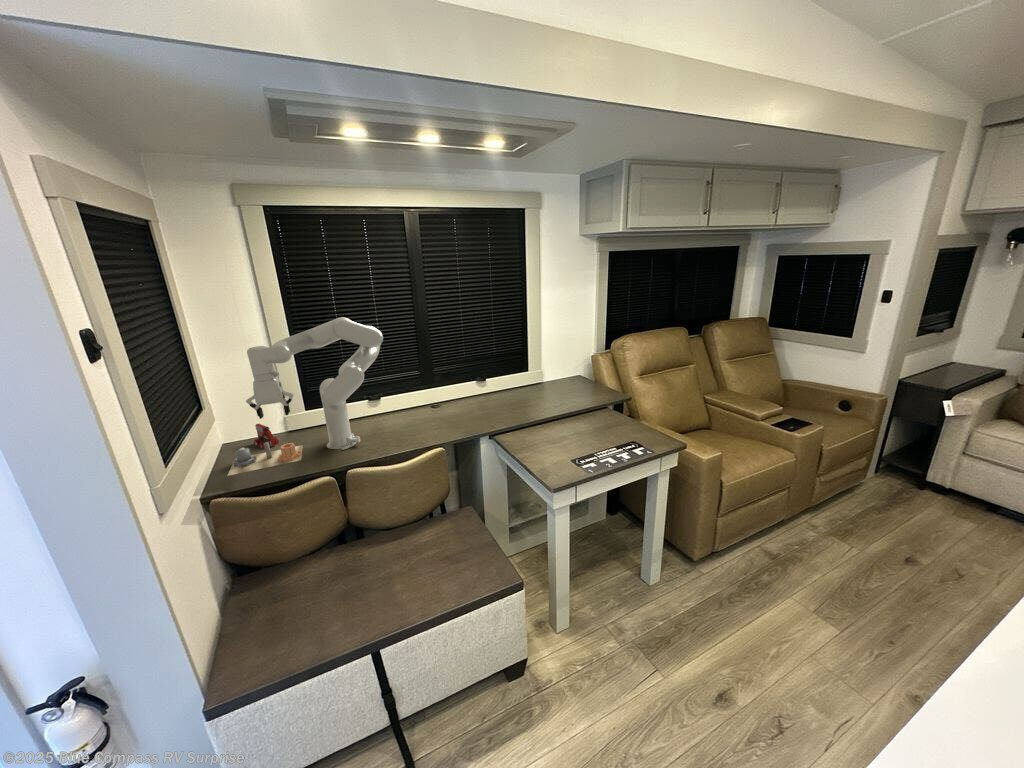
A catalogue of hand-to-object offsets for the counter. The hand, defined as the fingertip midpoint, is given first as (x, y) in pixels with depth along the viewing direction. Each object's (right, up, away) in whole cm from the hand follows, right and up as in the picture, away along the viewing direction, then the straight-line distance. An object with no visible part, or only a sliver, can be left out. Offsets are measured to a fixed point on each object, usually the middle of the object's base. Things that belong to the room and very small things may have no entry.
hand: (274, 415), depth 161 cm
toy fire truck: (-14, -16, +18) cm, 28 cm away
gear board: (-4, -20, +3) cm, 21 cm away
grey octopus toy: (-12, -20, 0) cm, 23 cm away
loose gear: (+4, -18, +3) cm, 19 cm away
